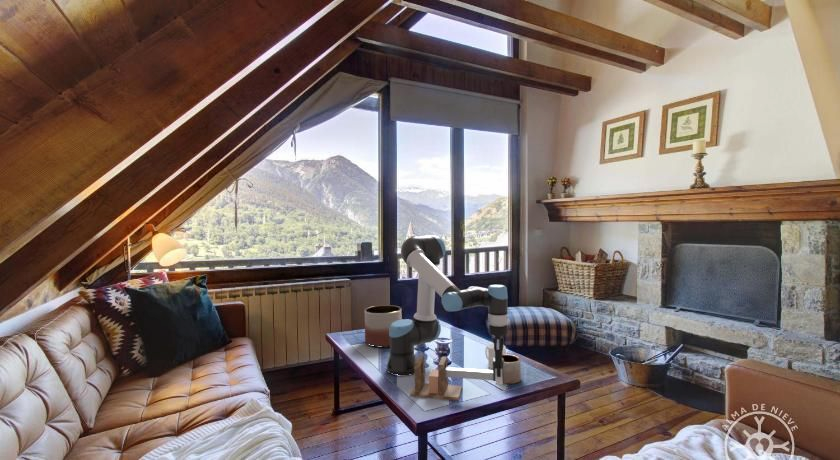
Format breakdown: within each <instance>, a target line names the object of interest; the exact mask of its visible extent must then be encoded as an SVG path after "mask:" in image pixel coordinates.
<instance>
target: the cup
mask: <svg viewBox="0 0 840 460" xmlns="http://www.w3.org/2000/svg"><path fill="white" fill-rule="evenodd" d="M506 349H507V347H506V346H505V345H504V344H503V351H502V355H504V354H507V353H506ZM485 357H486V359H487V360H488V364H487V365H488V368H489V370H493V358H495V350H494V343H491V344H489V345H488V346H486V347H485Z"/></svg>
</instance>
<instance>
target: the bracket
mask: <svg viewBox="0 0 840 460" xmlns="http://www.w3.org/2000/svg"><path fill="white" fill-rule="evenodd" d="M437 366H438V367H437V370H438V379H439V394H436V393H429V382H428V383H427V382H426V373H425V371H426V369H425V355H422V354H419V355H418V357H417V358H416V361H415V363H414V372H415V373H414V386H413V388H412V390H410V393H409V397H411V396H417V397H416V398H424V399H425V398H427V399H436V400H437V399H438V400H446V401H447V400H448V401H449V400H450V401H459V400H460V396H461V394H462V389H463V386H462V385H453V384H449V380H448V378H449V377H445V367H448V356H442V357H441V358H440V361H439V362H438V365H437Z"/></svg>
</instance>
